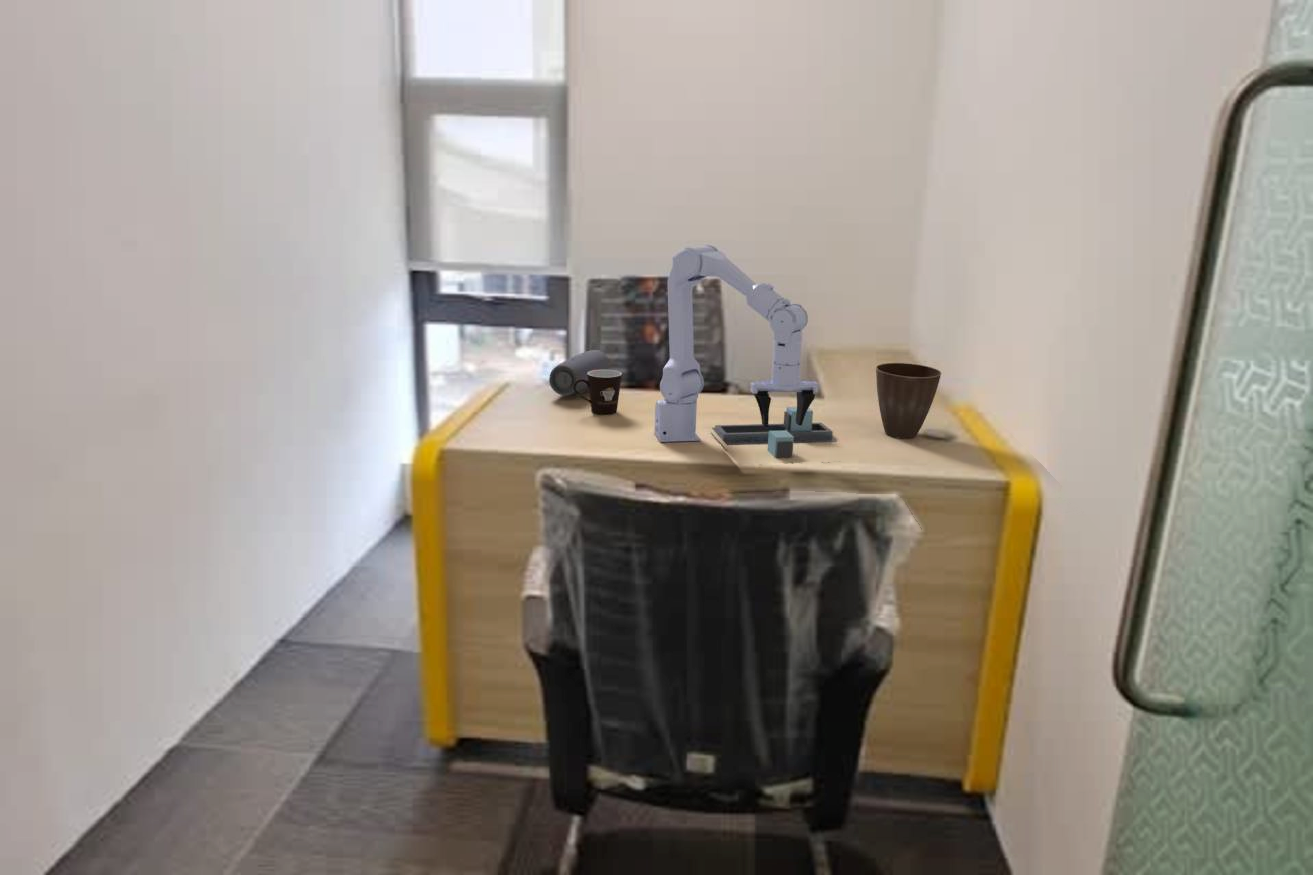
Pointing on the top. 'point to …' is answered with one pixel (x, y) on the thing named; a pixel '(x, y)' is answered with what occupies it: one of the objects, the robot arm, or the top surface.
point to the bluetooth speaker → (577, 372)
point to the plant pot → (905, 396)
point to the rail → (760, 434)
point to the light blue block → (791, 420)
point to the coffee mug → (602, 391)
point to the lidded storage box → (780, 444)
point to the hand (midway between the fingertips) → (781, 424)
